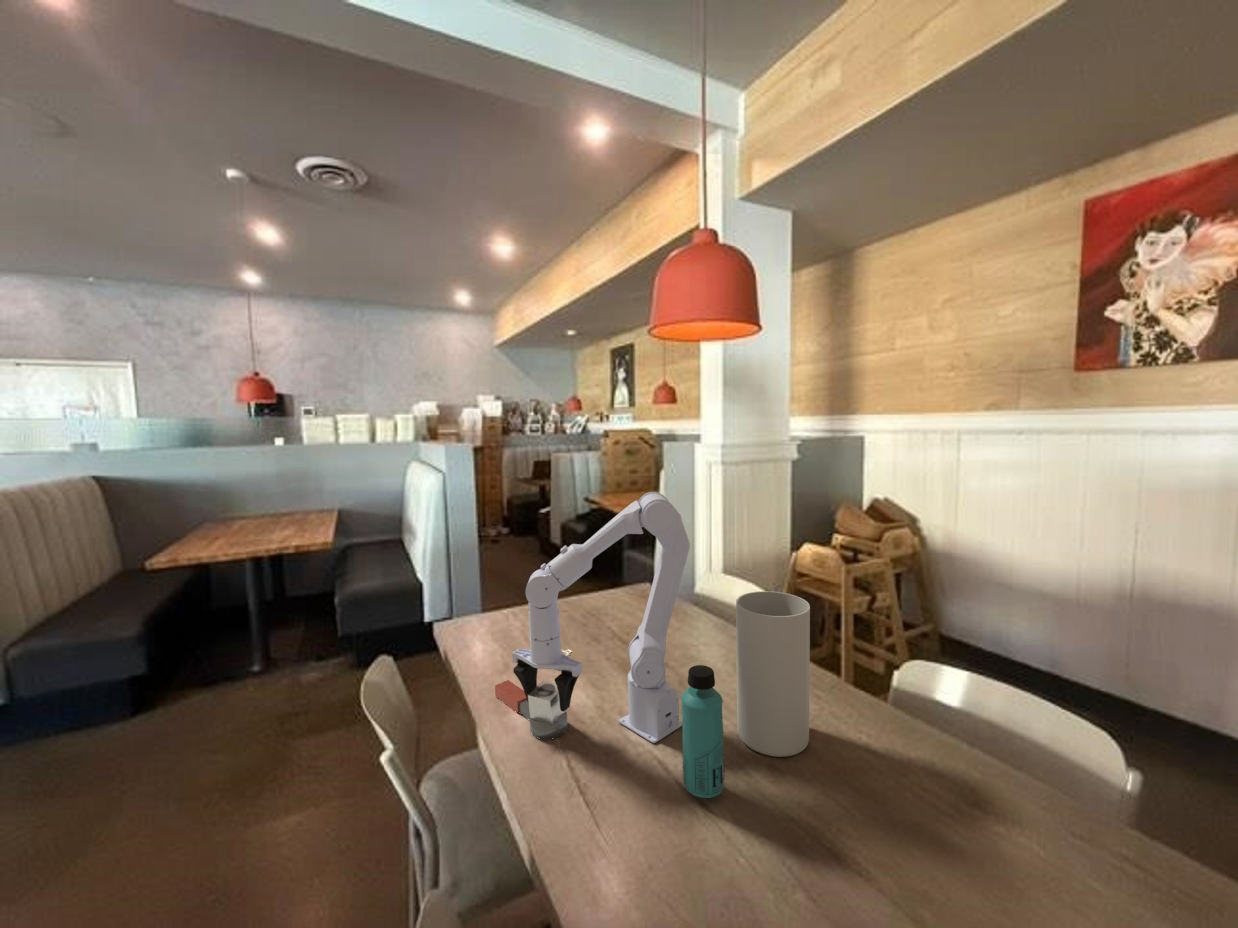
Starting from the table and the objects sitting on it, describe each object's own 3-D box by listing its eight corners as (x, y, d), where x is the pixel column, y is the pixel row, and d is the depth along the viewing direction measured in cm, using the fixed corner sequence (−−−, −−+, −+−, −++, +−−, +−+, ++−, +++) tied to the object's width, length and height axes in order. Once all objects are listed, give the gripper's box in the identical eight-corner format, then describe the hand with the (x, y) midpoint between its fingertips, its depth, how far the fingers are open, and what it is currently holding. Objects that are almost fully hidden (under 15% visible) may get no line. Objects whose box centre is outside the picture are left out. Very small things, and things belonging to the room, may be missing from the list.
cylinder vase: (759, 709, 103) (759, 586, 100) (821, 735, 94) (822, 602, 92) (723, 737, 94) (722, 604, 92) (787, 769, 85) (788, 623, 83)
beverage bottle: (715, 814, 76) (714, 685, 74) (674, 798, 80) (672, 673, 78) (731, 787, 82) (730, 665, 80) (692, 772, 85) (690, 656, 83)
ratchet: (574, 728, 98) (574, 704, 98) (544, 744, 93) (543, 719, 93) (516, 687, 114) (515, 666, 113) (487, 700, 109) (486, 678, 108)
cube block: (567, 709, 99) (564, 684, 98) (552, 725, 95) (549, 699, 94) (545, 703, 102) (543, 678, 101) (530, 719, 97) (527, 693, 96)
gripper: (589, 632, 97) (592, 701, 98) (526, 620, 103) (530, 685, 105) (569, 648, 91) (572, 721, 92) (503, 634, 97) (507, 703, 98)
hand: (548, 703), depth 98 cm, fingers open, 7 cm apart
